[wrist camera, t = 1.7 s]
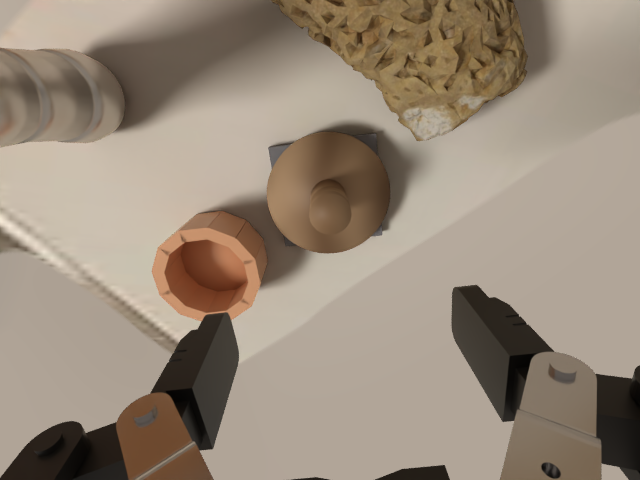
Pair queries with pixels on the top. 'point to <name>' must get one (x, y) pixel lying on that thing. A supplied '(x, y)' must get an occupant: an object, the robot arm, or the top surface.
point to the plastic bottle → (56, 97)
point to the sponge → (423, 52)
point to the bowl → (211, 266)
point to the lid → (328, 192)
